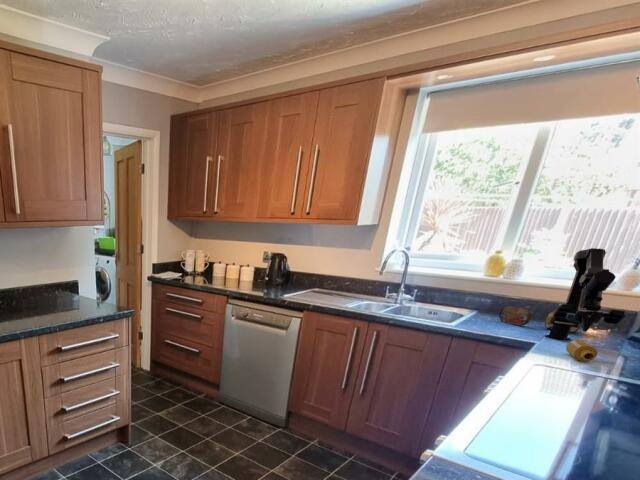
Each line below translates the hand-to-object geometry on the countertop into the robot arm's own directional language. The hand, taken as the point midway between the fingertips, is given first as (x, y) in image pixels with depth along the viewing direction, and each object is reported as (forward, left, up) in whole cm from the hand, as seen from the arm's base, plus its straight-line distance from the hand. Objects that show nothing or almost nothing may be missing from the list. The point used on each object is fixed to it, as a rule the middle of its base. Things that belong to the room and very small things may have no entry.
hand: (585, 331), depth 164 cm
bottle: (-1, -1, -7) cm, 7 cm away
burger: (-45, -37, -10) cm, 59 cm away
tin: (-33, -51, -10) cm, 62 cm away
